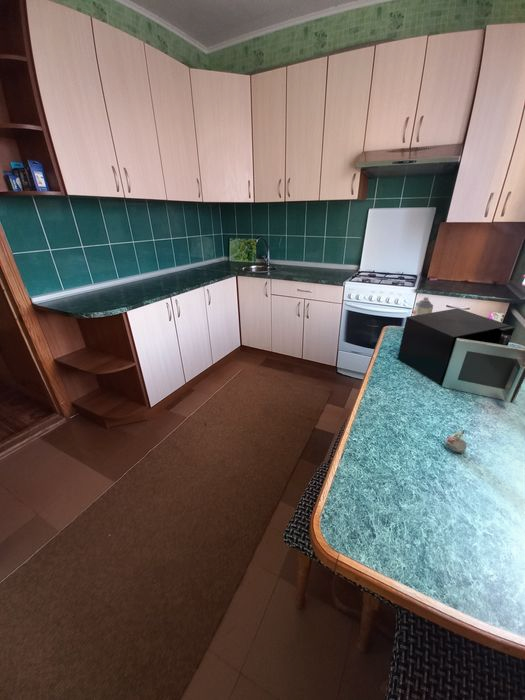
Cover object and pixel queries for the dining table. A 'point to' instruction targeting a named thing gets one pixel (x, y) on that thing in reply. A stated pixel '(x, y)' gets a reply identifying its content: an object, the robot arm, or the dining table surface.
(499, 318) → the candy bar box
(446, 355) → the oven
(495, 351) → the oven door
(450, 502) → the dining table surface
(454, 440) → the figurine
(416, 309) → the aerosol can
